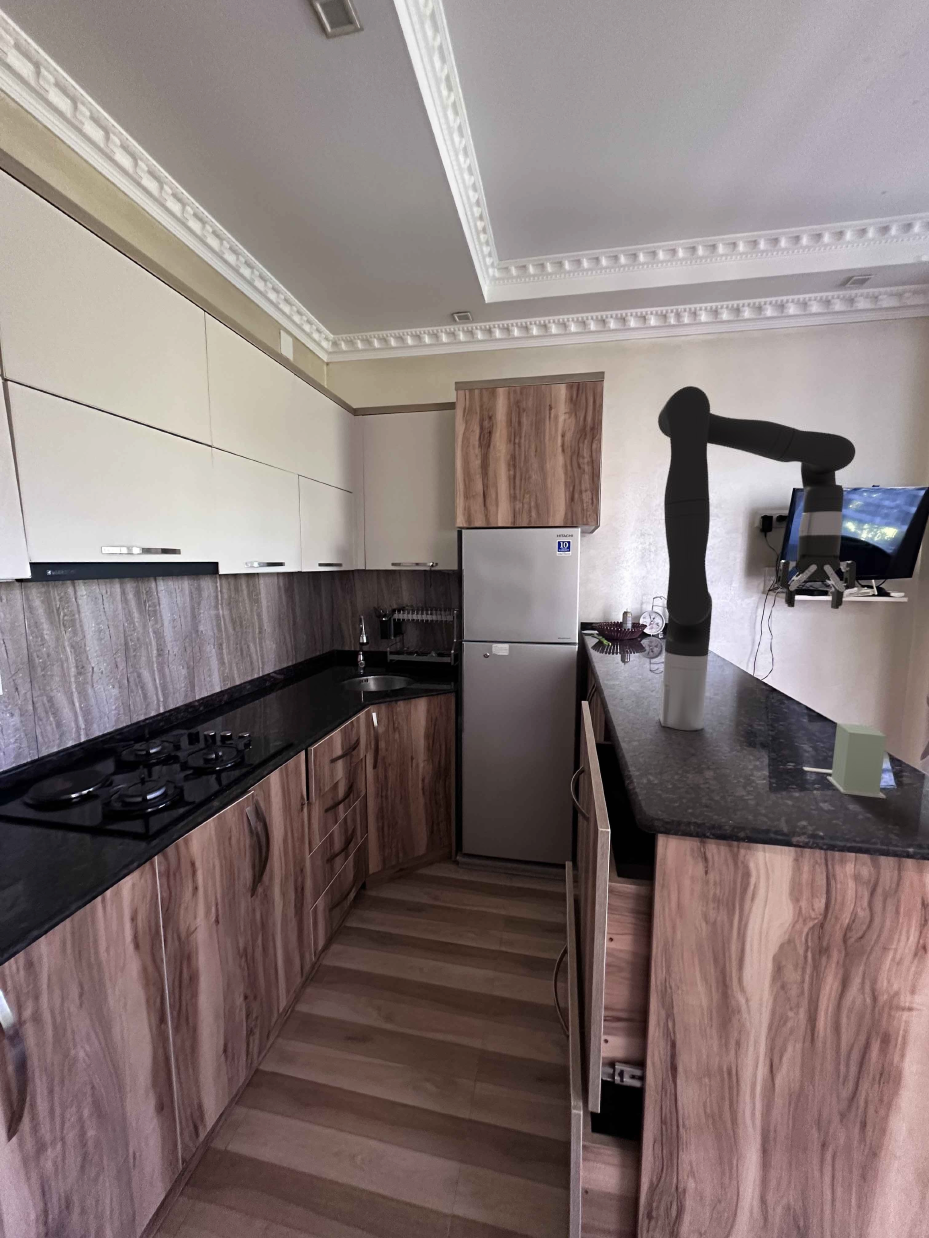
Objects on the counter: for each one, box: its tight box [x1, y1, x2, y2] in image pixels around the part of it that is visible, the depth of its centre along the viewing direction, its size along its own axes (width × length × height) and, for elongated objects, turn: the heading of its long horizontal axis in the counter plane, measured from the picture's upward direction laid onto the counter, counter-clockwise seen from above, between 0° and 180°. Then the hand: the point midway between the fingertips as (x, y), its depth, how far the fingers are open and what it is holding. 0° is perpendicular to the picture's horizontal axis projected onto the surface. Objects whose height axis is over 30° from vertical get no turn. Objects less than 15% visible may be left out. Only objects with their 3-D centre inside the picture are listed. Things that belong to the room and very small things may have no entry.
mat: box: [826, 776, 887, 799], centre depth 83 cm, size 6×6×1 cm
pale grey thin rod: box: [802, 766, 884, 780], centre depth 89 cm, size 12×1×1 cm, turn 74°
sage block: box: [831, 722, 887, 795], centre depth 83 cm, size 5×5×10 cm
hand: (812, 607), depth 109 cm, fingers open, 8 cm apart
